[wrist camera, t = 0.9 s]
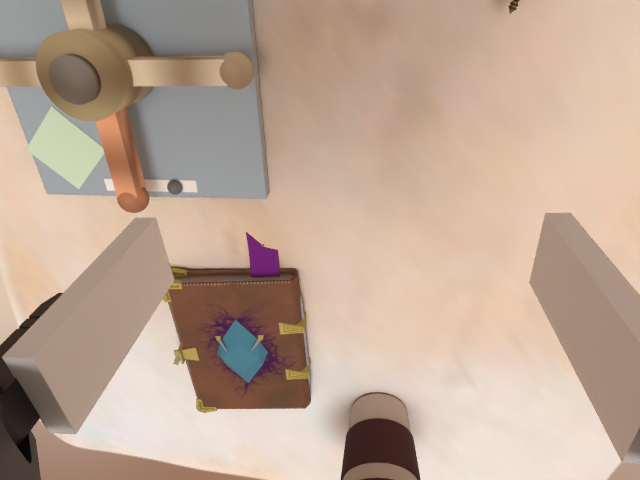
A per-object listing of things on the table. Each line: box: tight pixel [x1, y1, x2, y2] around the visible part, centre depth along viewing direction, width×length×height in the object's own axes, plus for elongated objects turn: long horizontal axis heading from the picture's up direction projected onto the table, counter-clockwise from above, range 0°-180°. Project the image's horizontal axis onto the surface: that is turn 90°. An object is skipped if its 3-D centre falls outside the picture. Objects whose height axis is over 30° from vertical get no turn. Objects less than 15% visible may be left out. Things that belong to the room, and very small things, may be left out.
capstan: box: [0, 0, 254, 213], centre depth 33 cm, size 24×24×7 cm
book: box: [163, 232, 311, 413], centre depth 50 cm, size 16×25×5 cm, turn 3°
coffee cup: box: [341, 393, 420, 480], centre depth 51 cm, size 10×10×15 cm
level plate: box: [0, 0, 269, 199], centre depth 36 cm, size 24×22×3 cm
